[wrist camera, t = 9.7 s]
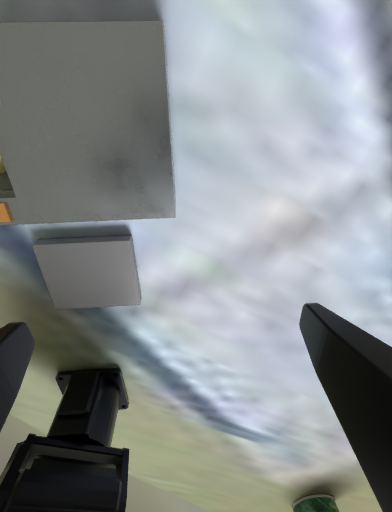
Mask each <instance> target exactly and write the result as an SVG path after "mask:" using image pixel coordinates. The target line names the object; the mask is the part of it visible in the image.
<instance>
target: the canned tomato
mask: <svg viewBox="0 0 392 512" xmlns="http://www.w3.org/2000/svg"><path fill="white" fill-rule="evenodd" d="M292 509H293V511H294V512H339V510H338V508H337V506H336V503H335V500H334V498H333V497H332V496H330V495H326V494H316V495H310V496H306V497H303V498H301V499H299V500H297V501H296V502H294V503H293V505H292Z"/></svg>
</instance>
